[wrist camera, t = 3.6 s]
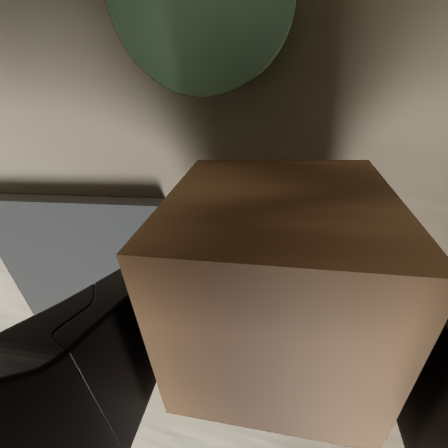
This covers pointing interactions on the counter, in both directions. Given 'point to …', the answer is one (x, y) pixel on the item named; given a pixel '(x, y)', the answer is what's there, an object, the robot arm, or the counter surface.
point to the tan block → (287, 297)
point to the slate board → (65, 241)
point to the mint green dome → (202, 40)
